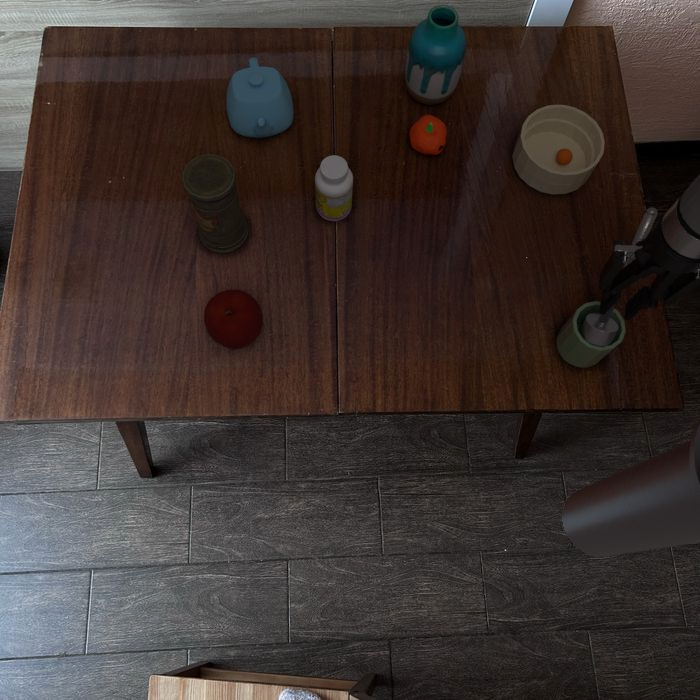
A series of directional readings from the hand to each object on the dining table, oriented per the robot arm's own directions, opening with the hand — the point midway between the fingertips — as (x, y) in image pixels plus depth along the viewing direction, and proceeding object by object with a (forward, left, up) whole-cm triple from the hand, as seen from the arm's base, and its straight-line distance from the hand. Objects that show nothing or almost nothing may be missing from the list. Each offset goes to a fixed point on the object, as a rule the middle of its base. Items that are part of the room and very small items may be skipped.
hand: (615, 309), depth 106 cm
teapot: (+31, +66, -16) cm, 75 cm away
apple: (-12, +58, -16) cm, 61 cm away
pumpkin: (+34, +34, -16) cm, 51 cm away
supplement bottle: (+16, +48, -16) cm, 53 cm away
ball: (+36, +8, -14) cm, 39 cm away
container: (+6, +66, -16) cm, 68 cm away
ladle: (-1, 0, -8) cm, 8 cm away
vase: (+46, +36, -16) cm, 60 cm away
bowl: (+36, +10, -16) cm, 40 cm away
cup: (0, 0, -16) cm, 16 cm away
